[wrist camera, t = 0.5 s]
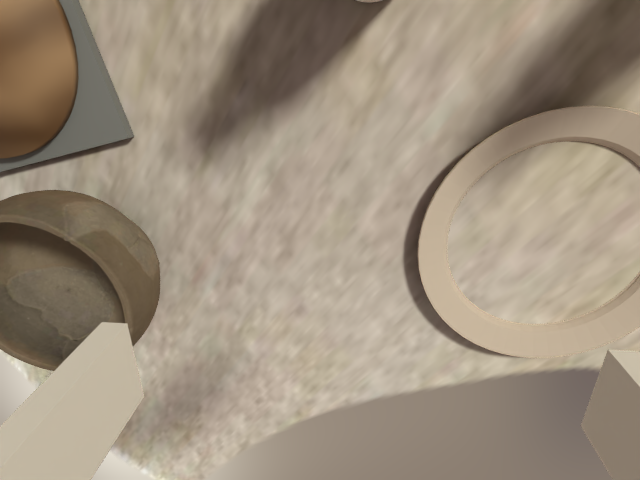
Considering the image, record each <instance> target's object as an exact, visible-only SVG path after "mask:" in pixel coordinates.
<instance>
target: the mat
mask: <svg viewBox="0 0 640 480" xmlns="http://www.w3.org/2000/svg"><path fill="white" fill-rule="evenodd" d="M59 1H60V3H61V5H62V7H63V9H64V11H65V14H66V16H67V19H68V22H69V24H70V27H71V30H72V34H73V38H74V42H75V45H76V52H77V59H78V77H79V79H78V89H77V95H76V100H75V104H74V107H73V110H72V112H71V115H70V117H69V119H68V121H67V122H66V124H65V126H64V127H63V129H62V130H61V131H60V132H59V134H58V135H57V136H56V137H55V138H54V139H53V140H51V141H50V142H49V143H48V144H47V145H45V146H43V147H41V148H40V149H38V150H36V151H33V152H30V153H27V154H24V155H20V156H16V157H11V158H0V172H2V171H6V170H9V169H13V168H17V167H21V166H25V165H29V164H32V163H36V162H40V161H44V160H48V159H51V158H55V157H59V156H63V155H67V154H70V153H74V152H78V151H82V150H86V149H90V148H93V147H97V146H101V145H105V144H109V143H112V142H116V141H120V140H124V139H128V138H131V137H134V135H133V132H132V130H131V127H130V125H129V123H128V120H127V118H126V115H125V113H124V110H123V108H122V106H121V103H120V101H119V98H118V96H117V93H116V91H115V88H114V86H113V84H112V81H111V79H110V76H109V74H108V71H107V69H106V66H105V64H104V62H103V59H102V57H101V54H100V52H99V49H98V47H97V45H96V42H95V40H94V37H93V35H92V32H91V30H90V27H89V25H88V23H87V20H86V18H85V15H84V13H83V10H82V8H81V5H80V3H79V1H78V0H59Z"/></svg>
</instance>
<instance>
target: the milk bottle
mask: <svg viewBox="0 0 640 480" xmlns="http://www.w3.org/2000/svg"><path fill="white" fill-rule="evenodd" d="M356 1H360V2H366V3H371V2H378V1H382V0H356Z"/></svg>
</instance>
